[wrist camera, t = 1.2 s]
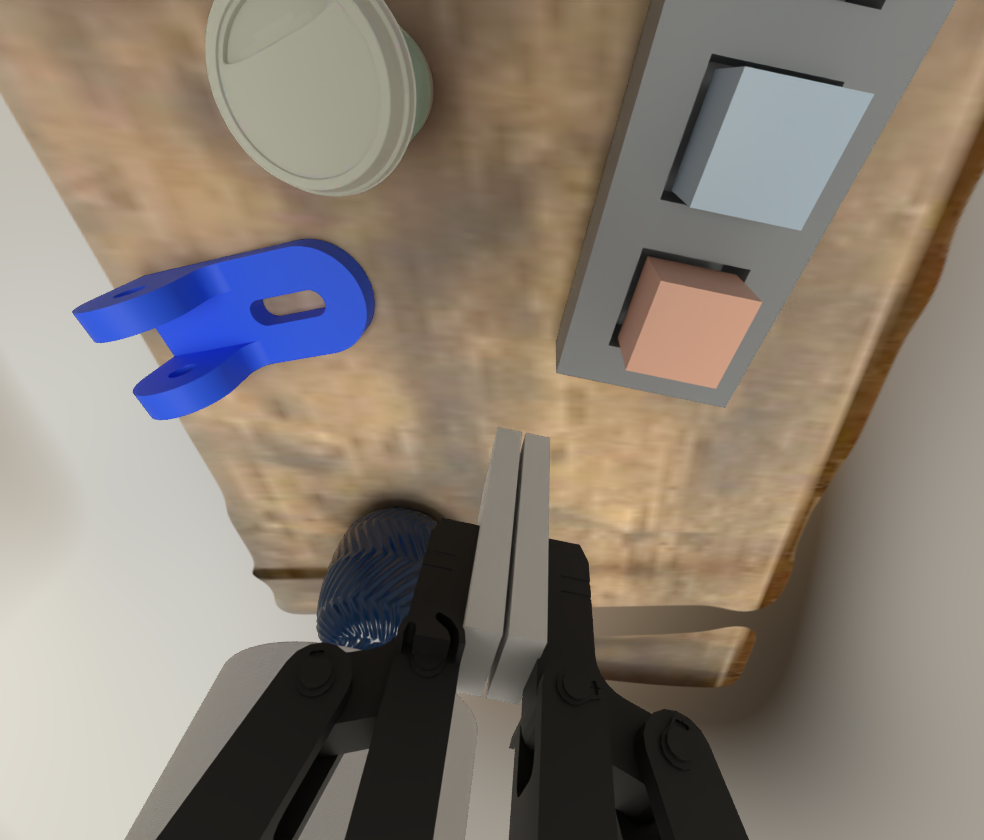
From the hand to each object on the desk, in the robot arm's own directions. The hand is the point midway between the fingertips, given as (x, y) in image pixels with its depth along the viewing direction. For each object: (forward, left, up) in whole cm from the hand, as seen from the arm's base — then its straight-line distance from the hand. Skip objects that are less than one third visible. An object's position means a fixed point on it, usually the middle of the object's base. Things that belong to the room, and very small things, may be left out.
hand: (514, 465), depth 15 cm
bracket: (+8, -20, -23) cm, 31 cm away
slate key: (-9, +9, -18) cm, 22 cm away
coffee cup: (-8, -11, -23) cm, 26 cm away
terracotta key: (0, +9, -18) cm, 20 cm away
